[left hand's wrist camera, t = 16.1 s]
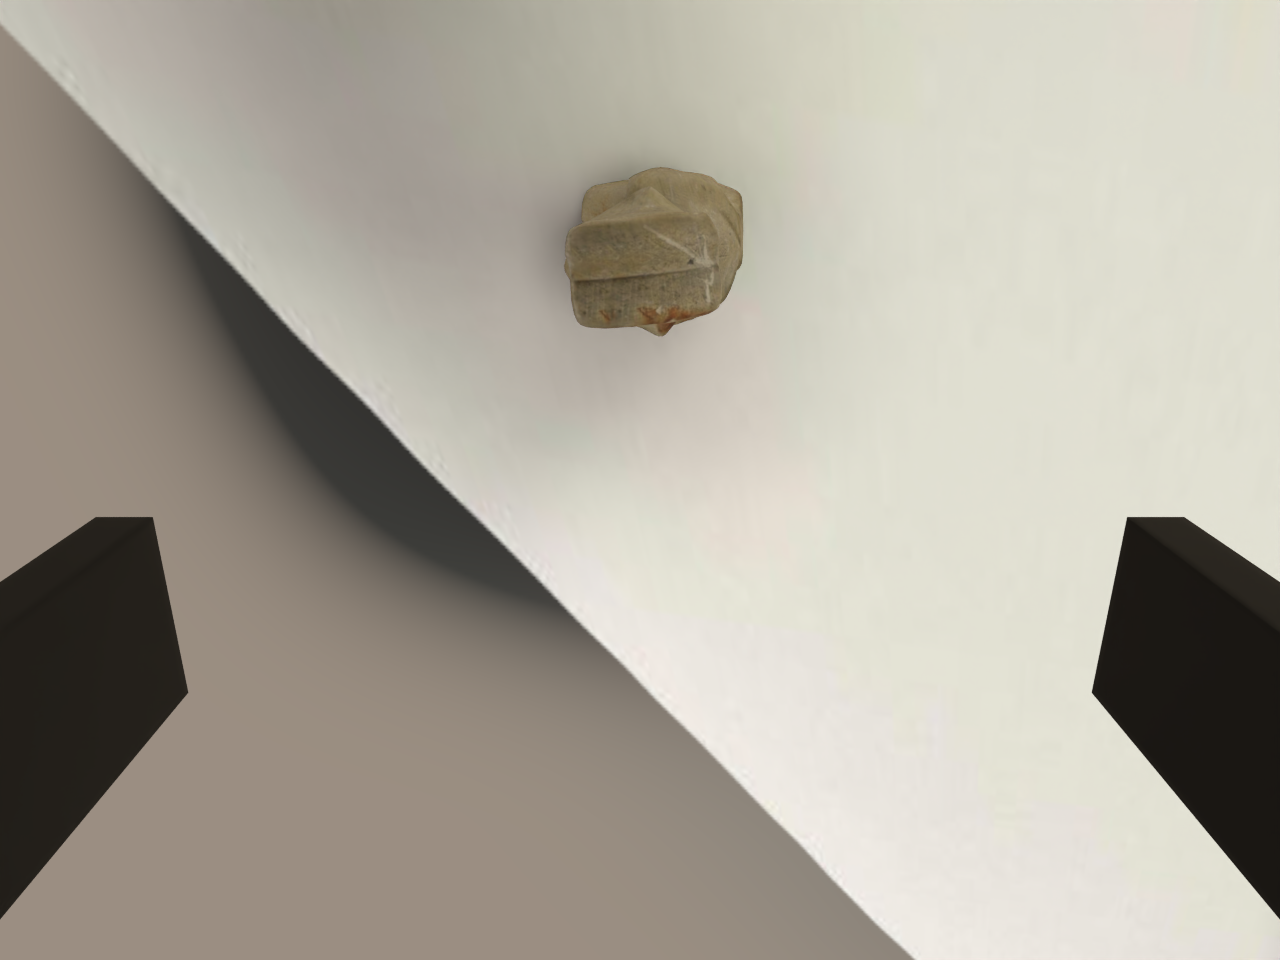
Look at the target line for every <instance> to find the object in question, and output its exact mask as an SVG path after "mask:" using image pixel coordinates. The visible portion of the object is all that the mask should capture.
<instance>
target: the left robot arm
mask: <svg viewBox="0 0 1280 960" xmlns="http://www.w3.org/2000/svg"><path fill="white" fill-rule="evenodd" d="M187 693H188V689H187V684H186V680H185V674H184V669H183V664H182V660H181V655H180V650H179V645H178V640H177V635H176V630H175V625H174V620H173V615H172V610H171V605H170V600H169V595H168V591H167V585H166V580H165V575H164V570H163V566H162V561H161V556H160V551H159V546H158V541H157V536H156V531H155V526H154V521H153V517H95V518H94V519H93V520H91V521H90V522H88V523H87V524H85V525H84V526H82V527H81V528H79V529H78V530H76V531H75V532H73V533H72V534H70V535H69V536H67V537H66V538H64V539H63V540H62V541H60V542H59V543H57V544H56V545H54V546H53V547H51V548H50V549H48V550H47V551H45V552H44V553H42V554H41V555H39V556H38V557H37V558H35V559H34V560H32V561H31V562H29V563H28V564H26V565H25V566H23V567H22V568H20V569H19V570H17V571H16V572H14V573H13V574H11V575H10V576H9V577H7V578H6V579H4V580H3V581H1V582H0V919H1V918H2V916H3V915H4V914H5V913H6V912H7V910H8V909H9V908H10V907H11V906H12V904H13V903H14V902H15V901H16V899H17V898H18V897H19V896H20V895H21V893H22V892H23V891H24V890H25V889H26V888H27V886H28V885H29V884H30V883H31V882H32V880H33V879H34V878H35V877H36V875H37V874H38V873H39V872H40V871H41V869H42V868H43V867H44V866H45V865H46V863H47V862H48V861H49V860H50V859H51V857H52V856H53V855H54V854H55V853H56V851H57V850H58V849H59V848H60V847H61V845H62V844H63V843H64V842H65V841H66V839H67V838H68V837H69V836H70V834H71V833H72V832H73V831H74V830H75V828H76V827H77V826H78V825H79V824H80V822H81V821H82V820H83V819H84V818H85V816H86V815H87V814H88V813H89V812H90V810H91V809H92V808H93V807H94V805H95V804H96V803H97V802H98V801H99V799H100V798H101V797H102V796H103V795H104V793H105V792H106V791H107V790H108V789H109V787H110V786H111V785H112V784H113V783H114V781H115V780H116V779H117V778H118V777H119V775H120V774H121V773H122V772H123V771H124V769H125V768H126V767H127V766H128V765H129V763H130V762H131V761H132V760H133V759H134V757H135V756H136V755H137V754H138V753H139V751H140V750H141V749H142V748H143V746H144V745H145V744H146V743H147V742H148V740H149V739H150V738H151V737H152V735H153V734H154V733H155V732H156V731H157V730H158V728H159V727H160V726H161V725H162V724H163V722H164V721H165V720H166V719H167V718H168V716H169V715H170V714H171V713H172V712H173V710H174V709H175V708H176V707H177V705H178V704H179V703H180V702H181V701H182V699H183V698H184V697H185V696H186V695H187ZM1092 693H1093V695H1094V696H1095V697H1096V698H1097V699H1098V701H1099V702H1100V703H1101V704H1102V705H1103V707H1104V708H1105V709H1106V710H1107V712H1108V713H1109V714H1110V715H1111V716H1112V718H1113V719H1114V720H1115V721H1116V722H1117V724H1118V725H1119V726H1120V727H1121V728H1122V730H1123V731H1124V732H1125V733H1126V734H1127V736H1128V737H1129V738H1130V739H1131V740H1132V742H1133V743H1134V744H1135V745H1136V746H1137V748H1138V749H1139V750H1140V751H1141V753H1142V754H1143V755H1144V756H1145V757H1146V759H1147V760H1148V761H1149V762H1150V763H1151V765H1152V766H1153V767H1154V768H1155V769H1156V771H1157V772H1158V773H1159V774H1160V775H1161V777H1162V778H1163V779H1164V780H1165V781H1166V783H1167V784H1168V785H1169V786H1170V787H1171V789H1172V790H1173V791H1174V792H1175V793H1176V795H1177V796H1178V797H1179V798H1180V800H1181V801H1182V802H1183V803H1184V804H1185V806H1186V807H1187V808H1188V809H1189V810H1190V812H1191V813H1192V814H1193V815H1194V816H1195V818H1196V819H1197V820H1198V821H1199V822H1200V824H1201V825H1202V826H1203V827H1204V828H1205V830H1206V831H1207V832H1208V833H1209V834H1210V836H1211V837H1212V838H1213V839H1214V841H1215V842H1216V843H1217V844H1218V845H1219V847H1220V848H1221V849H1222V850H1223V851H1224V853H1225V854H1226V855H1227V856H1228V857H1229V859H1230V860H1231V861H1232V862H1233V863H1234V865H1235V866H1236V867H1237V868H1238V869H1239V871H1240V872H1241V873H1242V874H1243V875H1244V877H1245V878H1246V879H1247V880H1248V882H1249V883H1250V884H1251V885H1252V886H1253V888H1254V889H1255V890H1256V891H1257V892H1258V894H1259V895H1260V896H1261V897H1262V898H1263V900H1264V901H1265V902H1266V903H1267V904H1268V906H1269V907H1270V908H1271V909H1272V910H1273V912H1274V913H1275V914H1276V915H1277V916H1278V918H1279V919H1280V582H1279V581H1277V580H1276V579H1274V578H1273V577H1272V576H1270V575H1269V574H1267V573H1266V572H1264V571H1263V570H1261V569H1260V568H1258V567H1257V566H1255V565H1254V564H1252V563H1251V562H1249V561H1248V560H1246V559H1245V558H1244V557H1242V556H1241V555H1239V554H1238V553H1236V552H1235V551H1233V550H1232V549H1230V548H1229V547H1227V546H1226V545H1224V544H1223V543H1221V542H1220V541H1218V540H1217V539H1216V538H1214V537H1213V536H1211V535H1210V534H1208V533H1207V532H1205V531H1204V530H1202V529H1201V528H1199V527H1198V526H1196V525H1195V524H1193V523H1192V522H1190V521H1189V520H1188V519H1186V518H1185V517H1127V521H1126V526H1125V531H1124V536H1123V541H1122V546H1121V551H1120V556H1119V561H1118V566H1117V570H1116V575H1115V580H1114V585H1113V590H1112V595H1111V600H1110V605H1109V610H1108V615H1107V620H1106V625H1105V630H1104V635H1103V640H1102V645H1101V650H1100V655H1099V659H1098V664H1097V669H1096V674H1095V679H1094V684H1093V689H1092Z"/></svg>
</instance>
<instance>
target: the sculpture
mask: <svg viewBox="0 0 1280 960" xmlns="http://www.w3.org/2000/svg"><path fill="white" fill-rule="evenodd" d="M581 217H582V221H583V223H582V224H580V225H577V226H575V227H573V228H572V229H571V230H570V231H569V232H568V235H567V238H566V245H565V256H566V261H565V264H564V268H565V272H566V274H567V276H568V277H569V279H570V283H571V300H572V305H573V310H574V315H575V317H576V319H577V321H578V322H579V323H580V324H581V325H583V326H586V327H591V328H619V327H635V326H637V327H640V328H643V329H645V330H647V331H649V332H651V333H653V334H655V335H657V336H664V335H665V334H666V333H667V332H668V331H669V330H670V328H671V327H672V326H673V325H676V324H679V323H682V322H684V321H687V320H691V319H694V318H696V317H699V316H702V315H706V314H709V313H711V312H713V311H714V310H716V309H717V308H718V307H719V305H720V304H721V303H722V302H723V301H724V300H725V298H726V297H727V295H728V293H729V291H730V289H731V286H732V283H733V281H734V278H735V274H736V271H737V270H738V269H739V268H740V266H741V264H742V257H743V206H742V197H741V195H740V193H739V192H738V191H736V190H734V189H732V188H730V187H727V186H724V185H721V184H719V183H717V182H716V181H715V180H714V179H713V178H712V177H709V176H706V175H703V174H698V173H691V172H683V171H679V170H674V169H670V168H662V167H659V168H652V169H649V170H646V171H643V172H640V173H638V174H636V175H634V176H632V177H631V178H629V180H623V181H618V182H612V183H606V184H601V185H595V186H593V187H591V188H590V189H589V190H588V191H587V192H586V194H585V196H584V199H583V203H582V216H581Z"/></svg>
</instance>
